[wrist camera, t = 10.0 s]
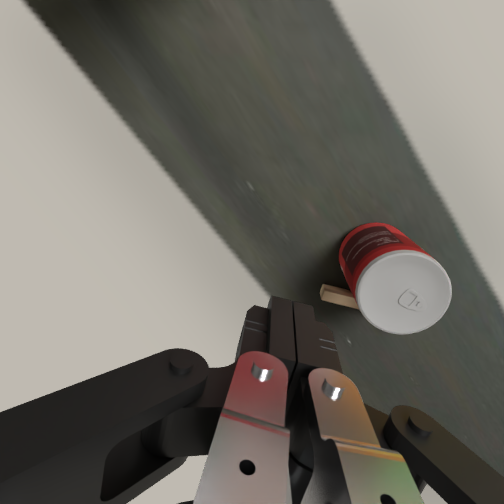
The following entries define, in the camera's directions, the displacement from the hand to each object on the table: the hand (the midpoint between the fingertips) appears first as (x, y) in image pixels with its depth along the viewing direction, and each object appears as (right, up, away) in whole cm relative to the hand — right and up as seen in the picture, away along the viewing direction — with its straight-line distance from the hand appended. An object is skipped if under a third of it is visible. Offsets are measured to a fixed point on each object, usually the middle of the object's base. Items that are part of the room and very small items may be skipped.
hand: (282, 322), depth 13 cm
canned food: (+13, +2, +28) cm, 31 cm away
